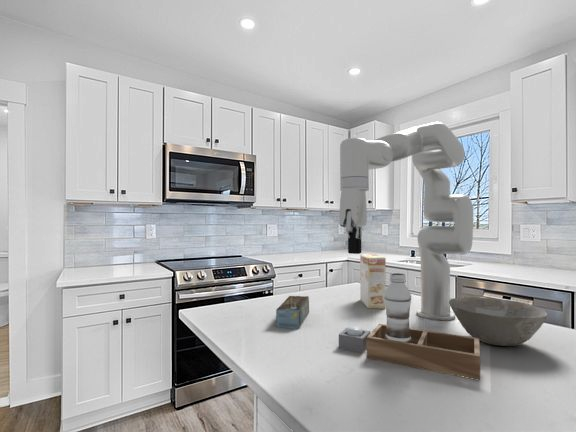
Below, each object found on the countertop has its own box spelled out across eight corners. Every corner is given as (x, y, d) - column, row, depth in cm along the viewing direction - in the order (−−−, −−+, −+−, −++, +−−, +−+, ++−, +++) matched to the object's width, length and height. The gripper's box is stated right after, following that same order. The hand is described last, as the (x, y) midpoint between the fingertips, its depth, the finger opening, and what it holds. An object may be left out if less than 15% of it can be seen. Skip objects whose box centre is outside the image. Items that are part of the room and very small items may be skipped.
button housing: (346, 340, 94) (346, 327, 94) (370, 344, 91) (370, 331, 91) (338, 347, 88) (338, 334, 89) (363, 352, 85) (363, 338, 85)
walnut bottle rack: (379, 341, 93) (379, 323, 93) (479, 359, 81) (478, 338, 81) (366, 357, 82) (366, 337, 82) (480, 380, 70) (479, 356, 70)
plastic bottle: (414, 360, 80) (414, 276, 81) (385, 358, 82) (384, 275, 82) (410, 350, 87) (409, 272, 87) (383, 348, 88) (382, 271, 88)
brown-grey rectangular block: (274, 327, 106) (274, 306, 106) (288, 312, 125) (288, 294, 125) (299, 329, 104) (299, 308, 104) (309, 313, 123) (309, 295, 123)
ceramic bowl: (553, 365, 78) (552, 322, 78) (444, 346, 90) (443, 308, 90) (542, 337, 96) (541, 302, 96) (453, 324, 109) (453, 293, 109)
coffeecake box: (386, 308, 128) (386, 257, 128) (367, 308, 128) (367, 257, 129) (376, 299, 143) (376, 253, 143) (359, 299, 143) (359, 253, 143)
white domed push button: (349, 334, 92) (349, 325, 93) (364, 336, 91) (364, 327, 91) (345, 339, 89) (345, 329, 89) (359, 341, 87) (359, 331, 87)
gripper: (349, 188, 99) (350, 250, 99) (330, 183, 86) (331, 255, 86) (375, 186, 95) (375, 251, 95) (359, 181, 82) (360, 256, 82)
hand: (354, 253), depth 90 cm, fingers closed
